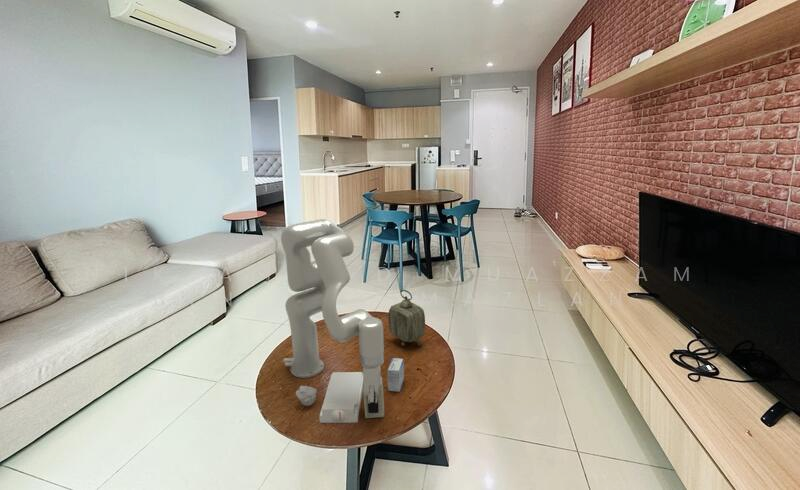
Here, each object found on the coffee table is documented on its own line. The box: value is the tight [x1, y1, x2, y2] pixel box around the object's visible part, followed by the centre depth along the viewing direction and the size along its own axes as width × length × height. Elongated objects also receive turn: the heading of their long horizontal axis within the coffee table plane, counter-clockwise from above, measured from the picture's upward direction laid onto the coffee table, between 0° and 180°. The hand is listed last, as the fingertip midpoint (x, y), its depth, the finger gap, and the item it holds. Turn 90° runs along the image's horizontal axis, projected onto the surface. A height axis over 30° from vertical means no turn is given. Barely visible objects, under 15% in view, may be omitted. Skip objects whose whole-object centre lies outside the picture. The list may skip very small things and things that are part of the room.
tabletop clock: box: [388, 289, 426, 347], centre depth 164 cm, size 14×9×25 cm, turn 42°
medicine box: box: [387, 357, 405, 393], centre depth 138 cm, size 8×4×9 cm, turn 168°
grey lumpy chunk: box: [295, 385, 318, 407], centre depth 129 cm, size 6×7×7 cm
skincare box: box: [363, 376, 385, 419], centre depth 123 cm, size 6×4×12 cm
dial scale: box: [319, 371, 363, 424], centre depth 131 cm, size 12×22×5 cm, turn 0°
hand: (374, 405), depth 124 cm, fingers open, 4 cm apart
